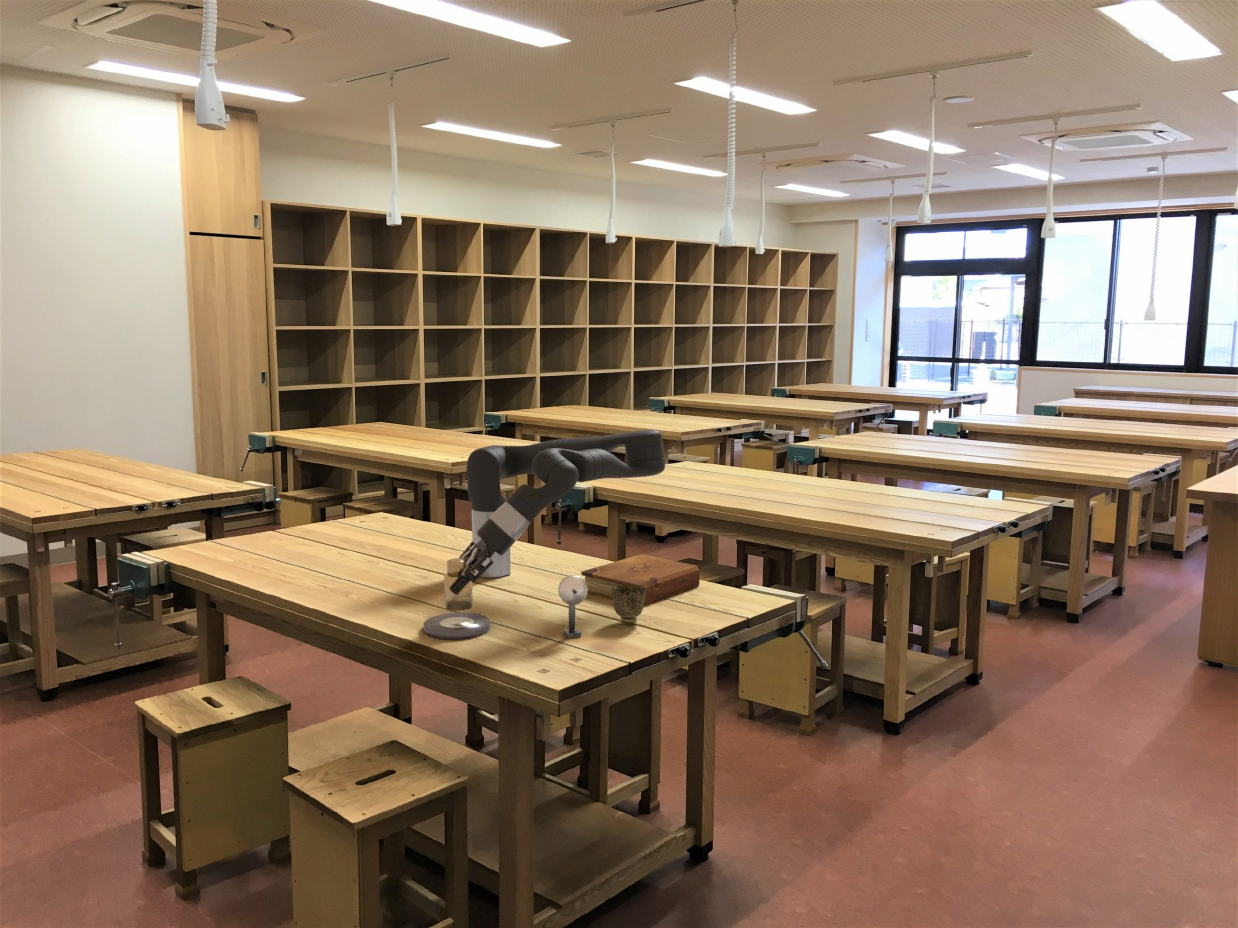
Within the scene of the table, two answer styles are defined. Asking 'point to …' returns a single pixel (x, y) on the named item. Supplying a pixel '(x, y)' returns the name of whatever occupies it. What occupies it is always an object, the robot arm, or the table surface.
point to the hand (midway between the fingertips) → (450, 587)
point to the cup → (628, 602)
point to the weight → (466, 595)
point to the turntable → (456, 626)
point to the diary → (643, 577)
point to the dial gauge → (572, 600)
